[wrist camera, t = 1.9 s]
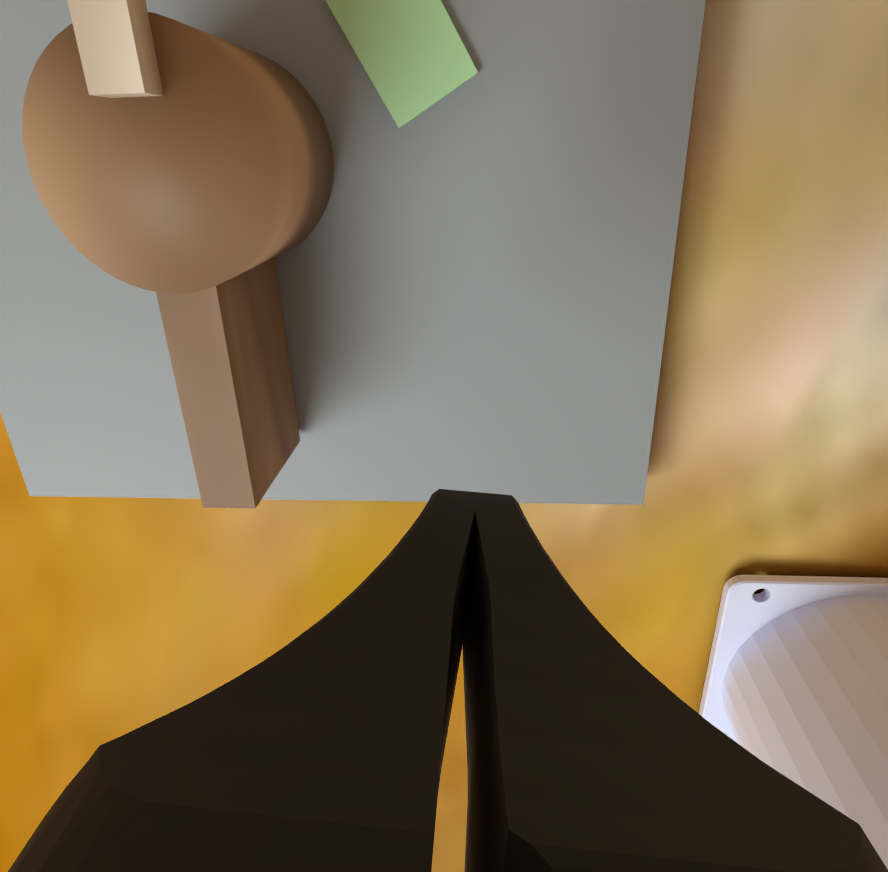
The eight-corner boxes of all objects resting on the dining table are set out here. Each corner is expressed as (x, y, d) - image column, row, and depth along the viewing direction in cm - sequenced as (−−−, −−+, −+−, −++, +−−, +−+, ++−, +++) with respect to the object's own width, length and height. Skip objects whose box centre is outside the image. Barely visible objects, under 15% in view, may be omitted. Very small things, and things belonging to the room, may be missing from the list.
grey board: (720, -265, 12) (743, -307, 11) (634, 483, 18) (643, 504, 17) (-164, -195, 13) (-224, -226, 12) (55, 476, 20) (29, 496, 19)
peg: (308, -115, 12) (209, -255, 8) (359, 438, 17) (315, 533, 13) (91, -102, 12) (-115, -228, 8) (202, 438, 17) (110, 529, 13)
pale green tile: (400, 128, 14) (398, 128, 14) (326, 0, 13) (323, -3, 13) (478, 73, 13) (477, 72, 13) (406, -65, 12) (405, -69, 12)
